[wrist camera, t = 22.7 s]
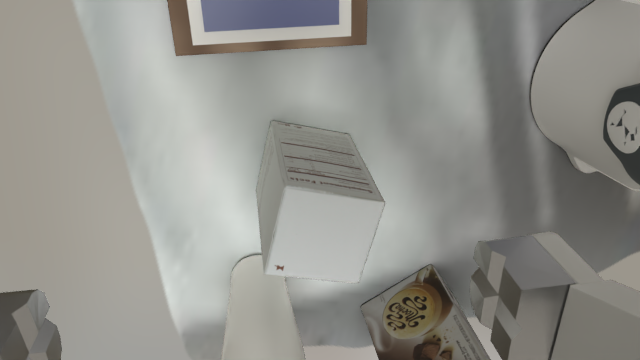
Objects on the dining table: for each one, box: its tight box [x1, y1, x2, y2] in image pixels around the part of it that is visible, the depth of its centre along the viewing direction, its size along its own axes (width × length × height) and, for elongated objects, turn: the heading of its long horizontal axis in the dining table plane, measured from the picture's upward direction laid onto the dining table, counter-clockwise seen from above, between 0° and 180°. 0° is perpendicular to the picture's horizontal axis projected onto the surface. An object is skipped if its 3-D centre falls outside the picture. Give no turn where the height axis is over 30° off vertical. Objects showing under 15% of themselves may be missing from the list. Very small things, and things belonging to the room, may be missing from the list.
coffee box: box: [361, 264, 491, 360], centre depth 50 cm, size 9×6×16 cm
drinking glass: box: [221, 255, 305, 360], centre depth 45 cm, size 7×7×15 cm
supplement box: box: [256, 121, 385, 283], centre depth 41 cm, size 7×7×13 cm
